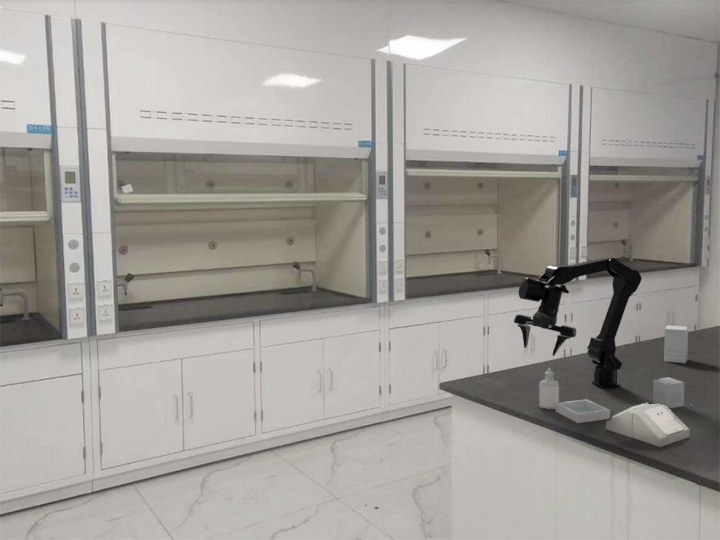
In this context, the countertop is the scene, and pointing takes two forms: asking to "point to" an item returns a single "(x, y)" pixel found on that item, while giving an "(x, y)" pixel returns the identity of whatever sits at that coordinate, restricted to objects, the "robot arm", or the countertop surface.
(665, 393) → the skincare box
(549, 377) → the eye dropper bottle
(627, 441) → the countertop surface
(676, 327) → the supplement box
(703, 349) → the countertop surface
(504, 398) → the countertop surface
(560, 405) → the square tray
